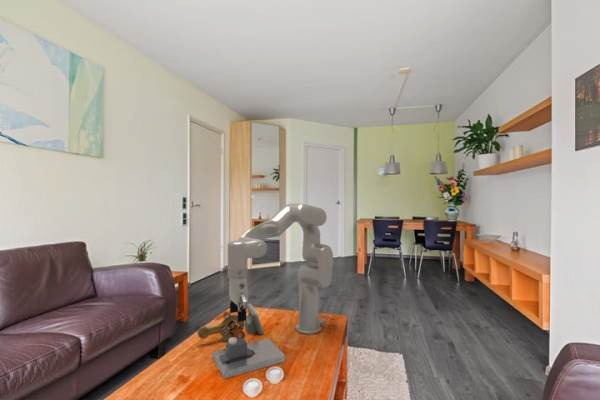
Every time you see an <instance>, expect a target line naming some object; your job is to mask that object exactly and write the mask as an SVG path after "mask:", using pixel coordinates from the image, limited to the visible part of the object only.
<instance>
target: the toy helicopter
mask: <svg viewBox="0 0 600 400" xmlns="http://www.w3.org/2000/svg"><path fill="white" fill-rule="evenodd" d="M222 318H223V320H222V322H220V324H217V325H212V326H209V327H208V326H204V325H203V326H201V327H200V328H198V331H197V335H198V338H200V340H201V339H202V340H203V339H206V338H208V337H209V336H212V335H213V336H214V335H218V334H219V335H221V340H222V341H223V342H224V343H226V342H228V341H229V338H231V337H236V338H237V339H241V338H245V336H246V335H245V331H244V329H245V321H242V322H238V314H233V315H232V313H230V310H229V311H227V310H226V311H224V312H223V313H222V314H220V315H219V316H216V317H215V318H214V321H215V322H216V321H218V320H221V319H222Z"/></svg>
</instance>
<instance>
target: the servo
mask: <svg viewBox="0 0 600 400" xmlns="http://www.w3.org/2000/svg"><path fill="white" fill-rule="evenodd" d="M244 338H245V337H244ZM244 338H241V339H237V338H236V337H231V338H229V339H228V340H227V341H225V349H226V354H224V355H220V356H219V358H220V360H221V361H222V363H225V362H226V364H229V363H233V362H236V361H240V360H244V359H247V358H250V356H252V355H253V353H252V351H251V350H250V349H249V348H248V349H247V343H248V342H247V341H246V339H244Z"/></svg>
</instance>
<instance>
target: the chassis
mask: <svg viewBox="0 0 600 400" xmlns="http://www.w3.org/2000/svg"><path fill="white" fill-rule="evenodd" d="M248 348H249V349H250V350H251V351H252V353H253V355H252V356H250V358H247V359H244V360H240V361H236V362H233V363H229V364H226V362H225V363H222V361H221V360H220V358H219V356H220V355H224V354H226V348H223V349H218V350H215V351H213V352H212V359H213V361H214V363H215V365H216V366H217V368H218V370H219V372H220V374H221V376H222V378H223V379H224V380H225V379H229V378H232V377H235V376H239V375H242V374H245V373H249V372H253V371H256V370H259V369H264V368H267V367H270V366H272V365H277V364H279V363H280V364H281V363H283V362H285V361H286V360H285V359H286V358H285V357H286V356H285V355H286V354H284V352H283V351H282V350H281V349H279V347H278V346H276V344H274V343H273V341H272V340H271V339H269V338H264V339H261V340H255V341H252V342H249V343H248V342H247V349H248Z"/></svg>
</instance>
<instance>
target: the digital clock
mask: <svg viewBox="0 0 600 400" xmlns="http://www.w3.org/2000/svg"><path fill="white" fill-rule="evenodd" d="M247 313H248V314H246V321H244V329H245V331H246V332H247V334H248V335H252V334H257V333H258V334H259V335H263V334H264V329H263V326H262V323H261V320H260V317H259V315H258V312H257V311H256V309H255V308H254V307H253V305H252V304H251V303H247Z"/></svg>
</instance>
